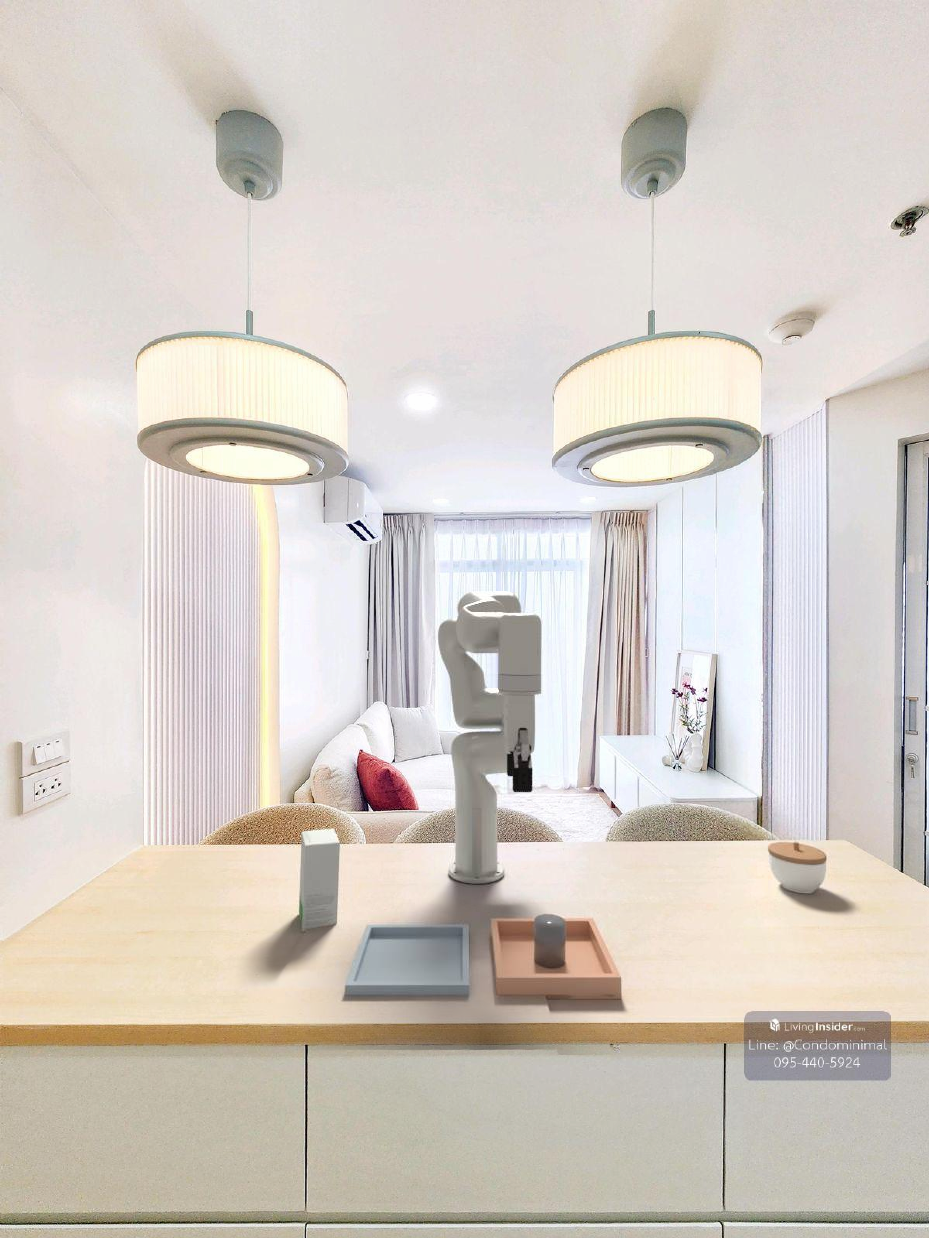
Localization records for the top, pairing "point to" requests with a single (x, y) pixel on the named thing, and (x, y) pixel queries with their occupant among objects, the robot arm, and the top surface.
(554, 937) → the gray metal cylinder
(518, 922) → the terracotta dish
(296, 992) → the top surface
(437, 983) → the parts tray
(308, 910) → the skincare box
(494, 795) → the robot arm
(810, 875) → the lidded jar
